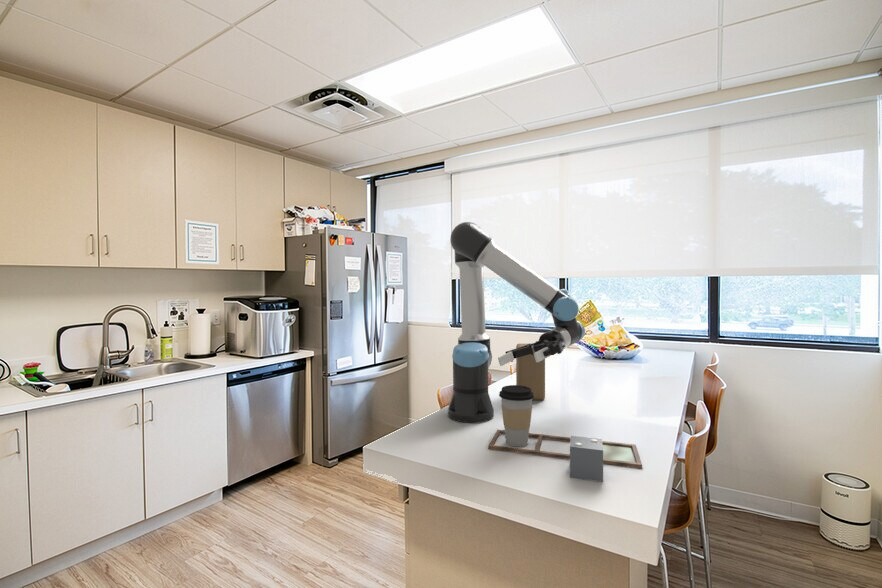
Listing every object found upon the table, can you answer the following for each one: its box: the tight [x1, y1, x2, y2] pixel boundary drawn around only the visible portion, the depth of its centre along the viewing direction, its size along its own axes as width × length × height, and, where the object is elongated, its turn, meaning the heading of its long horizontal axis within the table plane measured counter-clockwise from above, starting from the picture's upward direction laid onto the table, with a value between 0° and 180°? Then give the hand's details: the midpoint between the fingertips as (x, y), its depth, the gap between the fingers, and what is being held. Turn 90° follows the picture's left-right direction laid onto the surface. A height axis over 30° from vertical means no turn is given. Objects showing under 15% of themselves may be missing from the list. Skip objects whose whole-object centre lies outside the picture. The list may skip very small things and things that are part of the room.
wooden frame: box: [487, 429, 643, 469], centre depth 110 cm, size 37×13×1 cm, turn 71°
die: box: [569, 435, 604, 483], centre depth 95 cm, size 7×7×7 cm
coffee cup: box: [498, 384, 534, 448], centre depth 114 cm, size 9×9×15 cm
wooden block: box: [515, 343, 546, 401], centre depth 159 cm, size 10×10×20 cm
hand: (517, 359), depth 123 cm, fingers open, 13 cm apart
